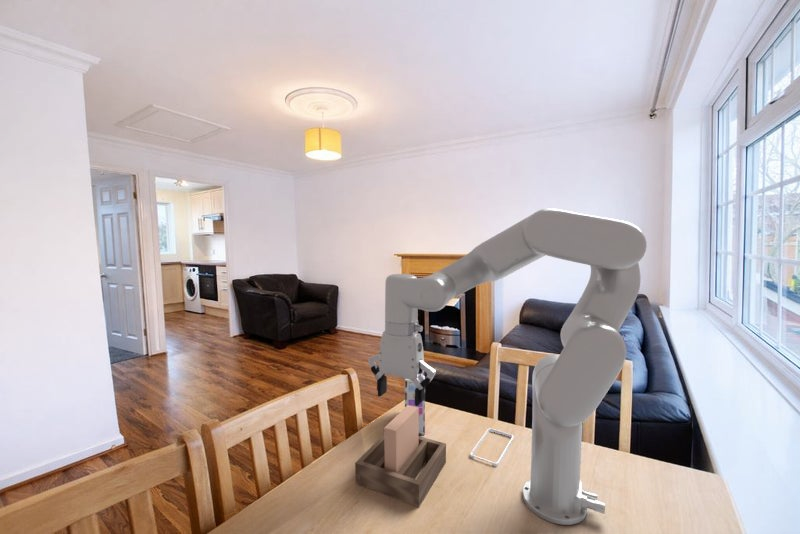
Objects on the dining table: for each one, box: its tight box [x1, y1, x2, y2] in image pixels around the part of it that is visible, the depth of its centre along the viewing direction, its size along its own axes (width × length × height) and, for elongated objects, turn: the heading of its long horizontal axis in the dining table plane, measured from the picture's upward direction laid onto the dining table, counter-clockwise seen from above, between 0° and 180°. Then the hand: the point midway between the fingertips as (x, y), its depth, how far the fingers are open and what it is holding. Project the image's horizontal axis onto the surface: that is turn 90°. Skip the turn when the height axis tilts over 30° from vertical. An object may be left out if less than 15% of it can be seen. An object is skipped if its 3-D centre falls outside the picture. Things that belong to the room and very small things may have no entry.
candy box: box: [404, 371, 426, 436], centre depth 108 cm, size 14×6×16 cm, turn 179°
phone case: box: [469, 427, 515, 467], centre depth 96 cm, size 7×1×15 cm
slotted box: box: [354, 433, 447, 508], centre depth 85 cm, size 16×16×5 cm
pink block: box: [383, 405, 419, 473], centre depth 85 cm, size 3×12×14 cm, turn 153°
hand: (400, 398), depth 84 cm, fingers open, 9 cm apart
